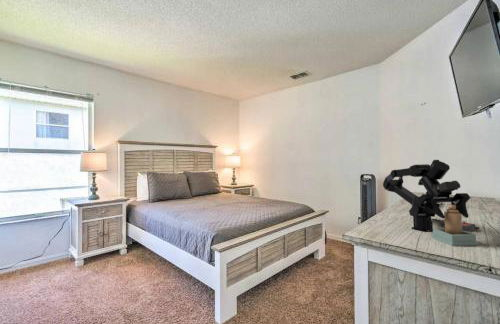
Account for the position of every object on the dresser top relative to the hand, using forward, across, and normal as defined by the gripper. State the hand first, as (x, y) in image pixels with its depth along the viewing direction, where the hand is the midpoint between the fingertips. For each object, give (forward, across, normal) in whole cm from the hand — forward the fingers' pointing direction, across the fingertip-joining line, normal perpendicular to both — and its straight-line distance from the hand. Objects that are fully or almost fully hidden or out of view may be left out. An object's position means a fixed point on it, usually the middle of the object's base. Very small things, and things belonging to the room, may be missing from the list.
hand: (455, 217), depth 95 cm
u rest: (+6, 0, +8) cm, 10 cm away
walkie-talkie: (-9, +17, +23) cm, 30 cm away
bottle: (+5, 0, +7) cm, 8 cm away
